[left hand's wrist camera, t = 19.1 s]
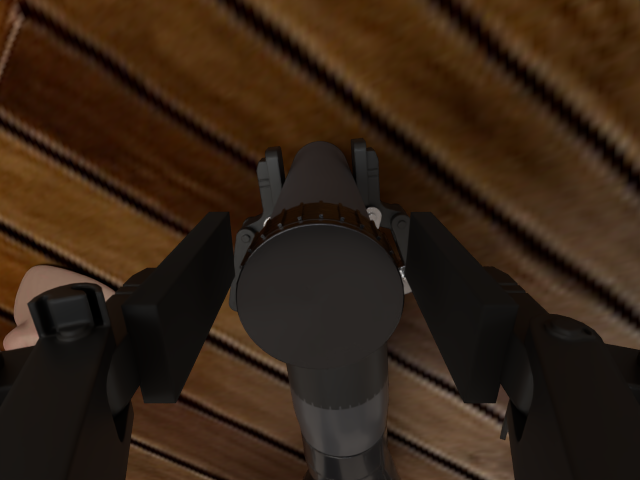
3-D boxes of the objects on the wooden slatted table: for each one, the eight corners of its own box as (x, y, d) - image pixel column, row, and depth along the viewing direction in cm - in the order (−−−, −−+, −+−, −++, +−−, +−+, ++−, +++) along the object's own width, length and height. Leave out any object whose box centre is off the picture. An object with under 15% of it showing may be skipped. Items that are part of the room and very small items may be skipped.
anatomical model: (-40, 282, 27) (114, 297, 28) (2, 260, 31) (138, 273, 31) (-1, 412, 32) (129, 423, 33) (32, 380, 36) (148, 389, 36)
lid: (400, 200, 11) (416, 221, 9) (387, 333, 13) (398, 372, 11) (241, 198, 11) (225, 218, 9) (250, 331, 13) (239, 371, 11)
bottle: (300, 202, 29) (272, 361, 12) (285, 149, 28) (226, 242, 10) (353, 189, 29) (403, 334, 11) (340, 134, 27) (377, 205, 10)
